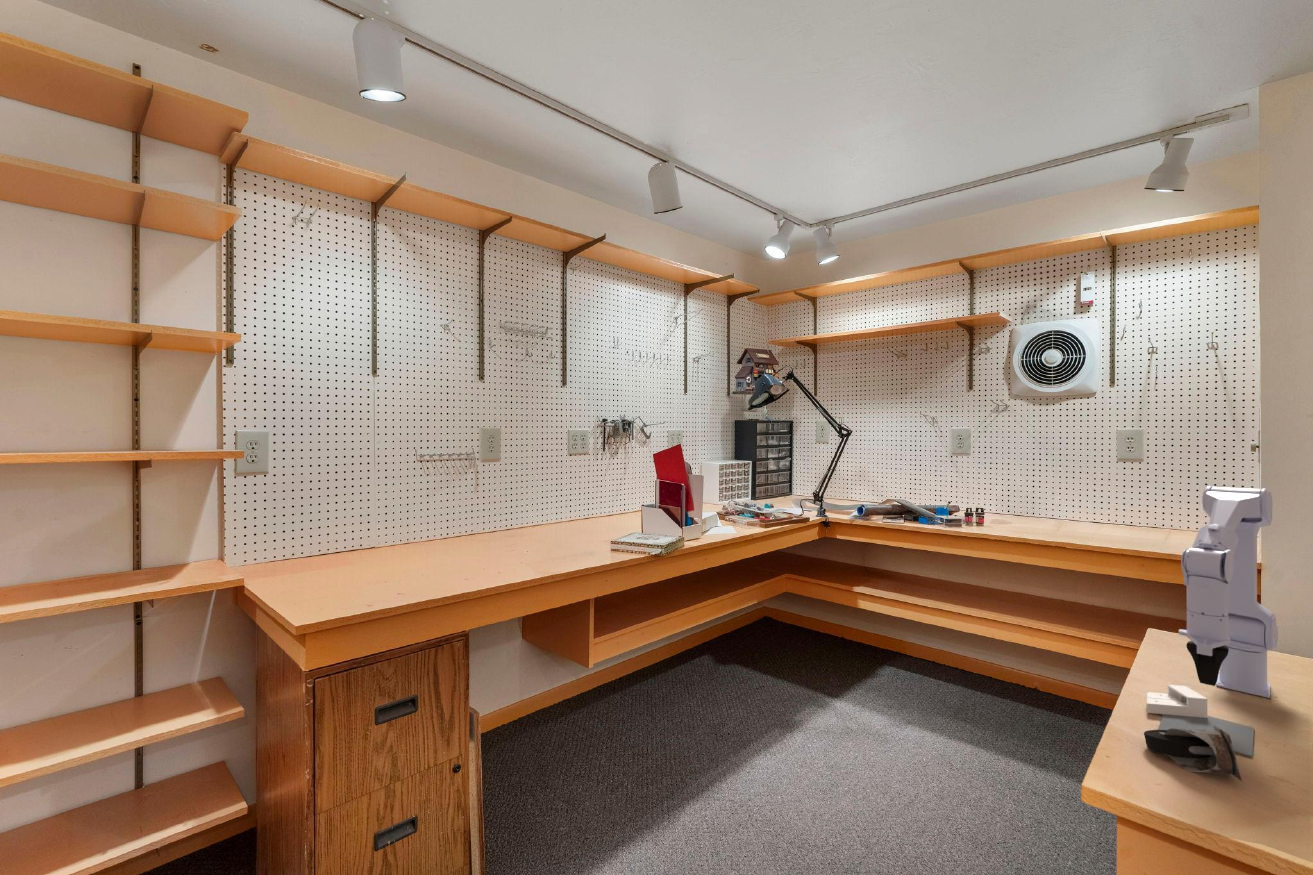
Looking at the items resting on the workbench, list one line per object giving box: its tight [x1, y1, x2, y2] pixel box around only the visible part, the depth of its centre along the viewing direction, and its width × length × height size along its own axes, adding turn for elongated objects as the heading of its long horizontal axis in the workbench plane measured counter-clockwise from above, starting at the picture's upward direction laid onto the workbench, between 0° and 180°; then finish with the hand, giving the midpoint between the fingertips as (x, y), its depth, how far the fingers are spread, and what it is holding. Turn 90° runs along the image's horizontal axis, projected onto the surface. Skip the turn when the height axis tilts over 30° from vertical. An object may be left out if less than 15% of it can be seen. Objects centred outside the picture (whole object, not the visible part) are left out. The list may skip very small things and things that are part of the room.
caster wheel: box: [1143, 726, 1243, 782], centre depth 94 cm, size 7×11×10 cm
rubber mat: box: [1157, 714, 1255, 759], centre depth 104 cm, size 14×12×1 cm
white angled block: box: [1146, 684, 1208, 718], centre depth 111 cm, size 4×10×9 cm
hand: (1207, 683), depth 107 cm, fingers closed
